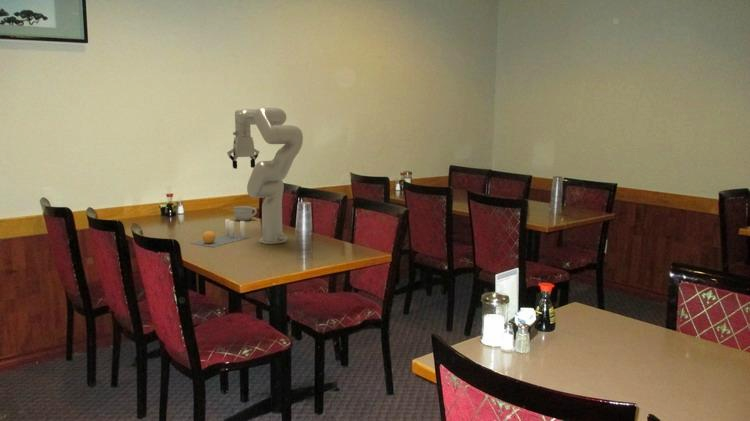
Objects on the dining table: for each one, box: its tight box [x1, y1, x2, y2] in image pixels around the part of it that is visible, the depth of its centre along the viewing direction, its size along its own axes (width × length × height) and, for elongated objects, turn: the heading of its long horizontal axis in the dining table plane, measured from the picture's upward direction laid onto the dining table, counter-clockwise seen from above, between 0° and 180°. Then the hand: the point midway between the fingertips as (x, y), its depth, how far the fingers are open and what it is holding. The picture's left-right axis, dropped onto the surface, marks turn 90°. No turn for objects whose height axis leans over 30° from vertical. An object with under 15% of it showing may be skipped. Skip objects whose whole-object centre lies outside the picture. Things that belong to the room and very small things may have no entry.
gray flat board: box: [190, 234, 252, 248], centre depth 287 cm, size 14×26×1 cm, turn 149°
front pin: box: [229, 220, 235, 238], centre depth 292 cm, size 2×2×8 cm
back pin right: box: [224, 218, 231, 236], centre depth 296 cm, size 2×2×8 cm
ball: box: [202, 230, 217, 244], centre depth 279 cm, size 6×6×6 cm
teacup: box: [233, 205, 258, 222], centre depth 340 cm, size 14×11×8 cm
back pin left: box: [239, 221, 246, 238], centre depth 291 cm, size 2×2×8 cm
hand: (244, 168), depth 301 cm, fingers open, 9 cm apart
